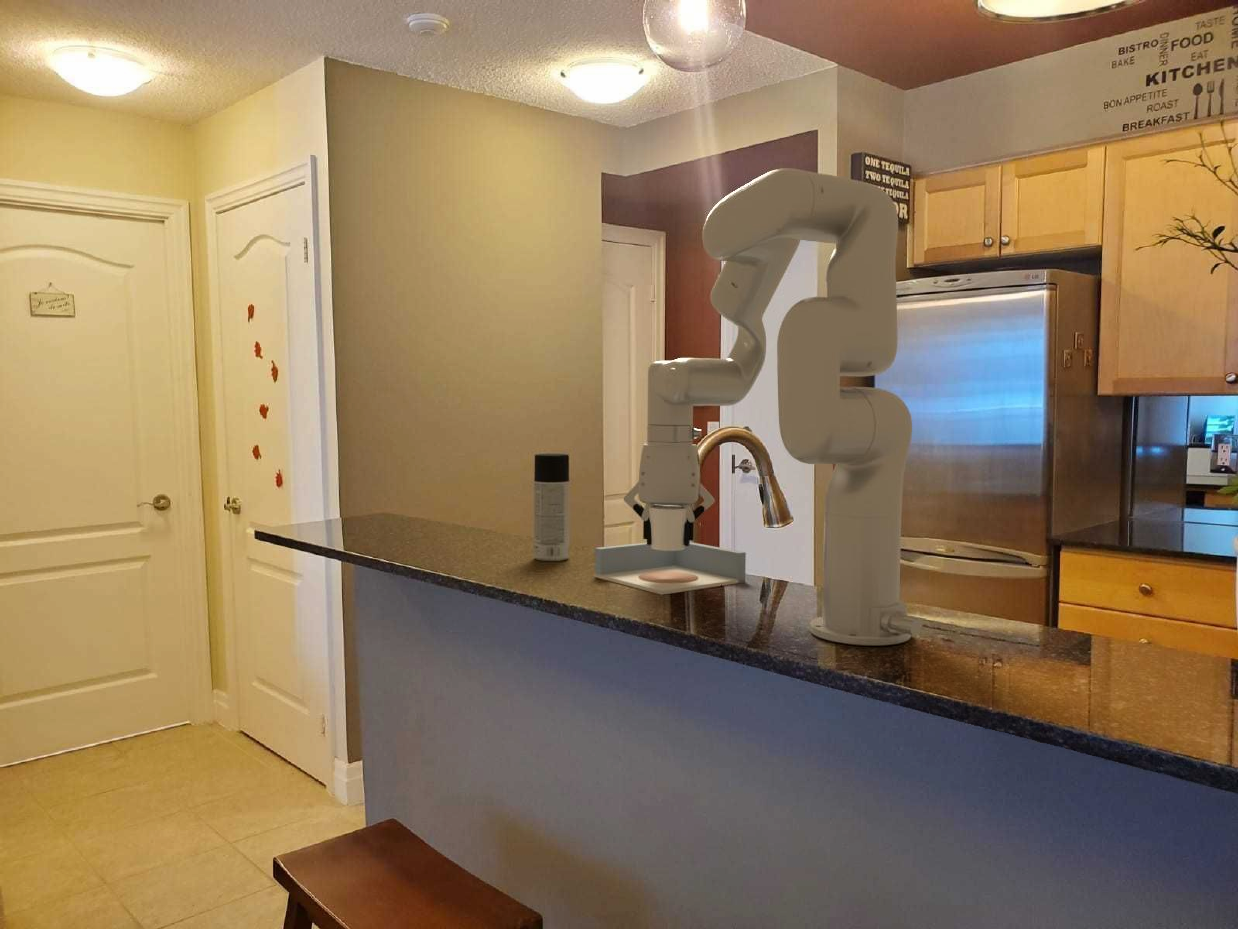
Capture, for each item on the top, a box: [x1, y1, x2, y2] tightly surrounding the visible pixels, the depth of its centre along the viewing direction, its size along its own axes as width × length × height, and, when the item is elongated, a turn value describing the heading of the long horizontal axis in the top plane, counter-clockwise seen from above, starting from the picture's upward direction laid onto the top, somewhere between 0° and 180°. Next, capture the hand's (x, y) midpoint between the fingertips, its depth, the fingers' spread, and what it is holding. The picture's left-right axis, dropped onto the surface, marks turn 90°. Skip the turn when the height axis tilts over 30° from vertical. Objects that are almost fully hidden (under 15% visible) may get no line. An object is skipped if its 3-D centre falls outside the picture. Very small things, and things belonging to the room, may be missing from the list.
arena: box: [594, 541, 747, 596], centre depth 154 cm, size 18×18×5 cm
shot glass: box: [649, 504, 687, 551], centre depth 153 cm, size 7×7×7 cm
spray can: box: [533, 453, 570, 562], centre depth 174 cm, size 7×7×20 cm
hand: (668, 543), depth 153 cm, fingers closed on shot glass, 5 cm apart
